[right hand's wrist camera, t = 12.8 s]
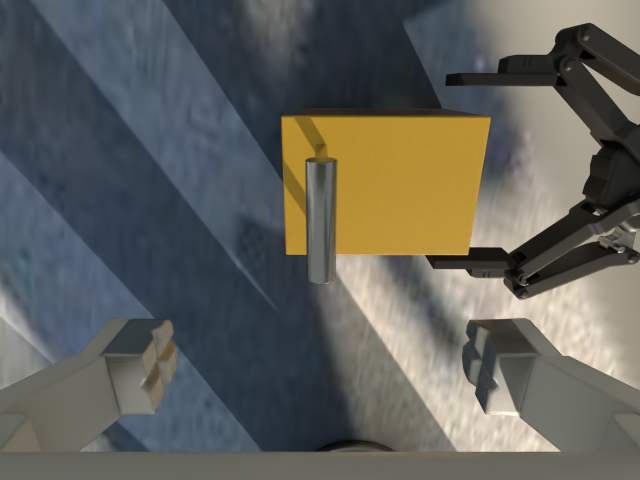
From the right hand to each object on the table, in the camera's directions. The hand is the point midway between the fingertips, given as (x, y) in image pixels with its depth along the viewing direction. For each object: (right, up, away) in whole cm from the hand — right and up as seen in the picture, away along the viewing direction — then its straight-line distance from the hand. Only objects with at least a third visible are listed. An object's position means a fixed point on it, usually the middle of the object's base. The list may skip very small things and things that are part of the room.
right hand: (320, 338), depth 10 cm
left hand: (+9, +8, +18) cm, 22 cm away
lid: (+4, +6, +16) cm, 18 cm away
